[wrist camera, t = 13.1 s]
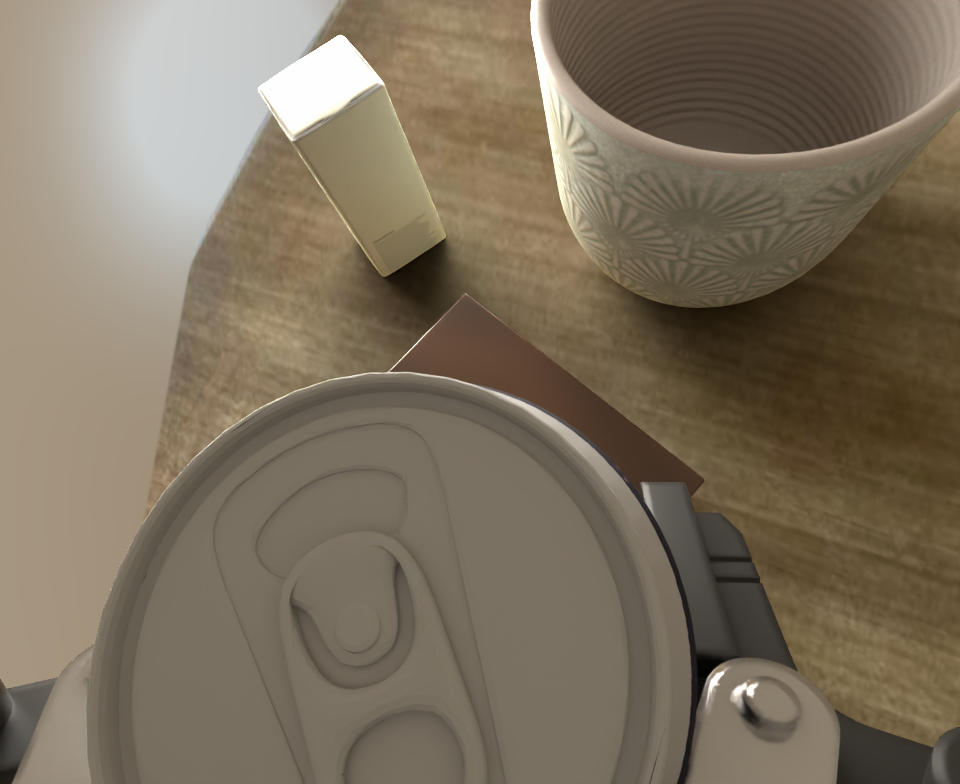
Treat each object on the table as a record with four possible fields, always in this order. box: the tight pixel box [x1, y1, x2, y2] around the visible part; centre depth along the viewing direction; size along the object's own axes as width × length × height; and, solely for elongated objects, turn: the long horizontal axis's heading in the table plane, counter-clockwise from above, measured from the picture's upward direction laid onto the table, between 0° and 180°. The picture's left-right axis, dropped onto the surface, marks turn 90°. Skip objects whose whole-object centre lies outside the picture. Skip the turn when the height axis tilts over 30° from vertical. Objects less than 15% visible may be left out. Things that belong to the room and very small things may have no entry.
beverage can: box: [86, 372, 697, 784], centre depth 10 cm, size 6×6×12 cm
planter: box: [531, 0, 960, 308], centre depth 29 cm, size 17×17×15 cm
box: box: [258, 35, 446, 277], centre depth 34 cm, size 5×4×13 cm
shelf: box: [389, 293, 704, 498], centre depth 29 cm, size 12×14×7 cm
